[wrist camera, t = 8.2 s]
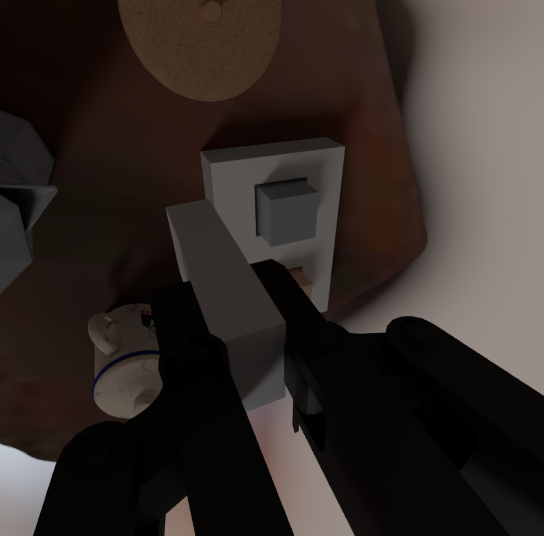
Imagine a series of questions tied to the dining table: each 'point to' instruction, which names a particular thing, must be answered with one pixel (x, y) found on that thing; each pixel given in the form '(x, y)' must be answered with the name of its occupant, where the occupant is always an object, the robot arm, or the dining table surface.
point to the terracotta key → (302, 281)
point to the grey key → (286, 211)
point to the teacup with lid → (125, 360)
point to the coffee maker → (21, 192)
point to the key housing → (270, 168)
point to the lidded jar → (204, 42)
